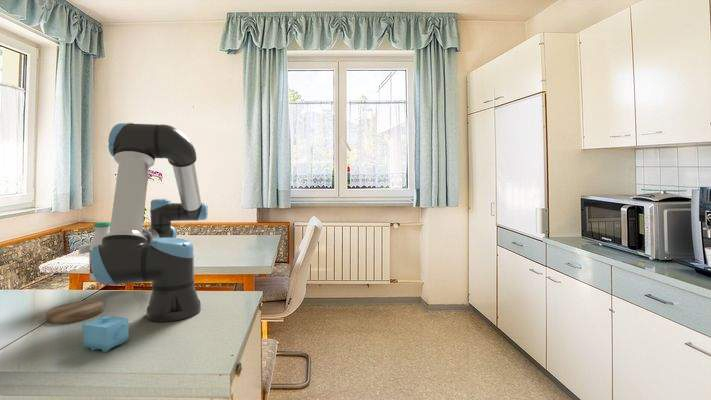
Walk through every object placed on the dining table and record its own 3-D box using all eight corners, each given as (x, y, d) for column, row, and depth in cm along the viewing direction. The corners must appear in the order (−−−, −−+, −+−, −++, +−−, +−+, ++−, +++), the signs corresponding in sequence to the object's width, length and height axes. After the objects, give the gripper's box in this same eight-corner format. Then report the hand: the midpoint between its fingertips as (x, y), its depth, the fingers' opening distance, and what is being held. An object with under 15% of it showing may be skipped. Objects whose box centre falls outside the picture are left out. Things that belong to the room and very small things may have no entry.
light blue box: (139, 344, 90) (138, 315, 90) (118, 355, 84) (117, 324, 84) (102, 339, 93) (101, 310, 93) (78, 349, 87) (77, 319, 87)
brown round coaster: (114, 309, 114) (114, 302, 114) (68, 326, 101) (67, 319, 101) (82, 304, 118) (81, 298, 118) (33, 320, 105) (33, 313, 105)
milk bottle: (87, 279, 124) (85, 222, 123) (113, 275, 130) (111, 220, 129) (93, 283, 119) (91, 223, 118) (119, 278, 125) (118, 222, 124)
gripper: (165, 249, 139) (115, 263, 117) (121, 247, 144) (65, 260, 121) (165, 231, 139) (114, 240, 117) (121, 229, 143) (64, 238, 121)
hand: (89, 250), depth 119 cm, fingers closed on milk bottle, 7 cm apart
